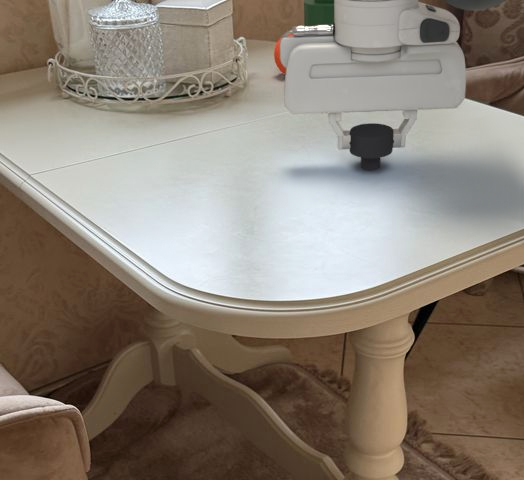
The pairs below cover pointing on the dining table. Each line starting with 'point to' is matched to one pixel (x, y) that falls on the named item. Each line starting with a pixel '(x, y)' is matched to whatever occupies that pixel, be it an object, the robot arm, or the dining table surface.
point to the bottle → (318, 12)
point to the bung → (371, 144)
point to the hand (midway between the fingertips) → (371, 147)
